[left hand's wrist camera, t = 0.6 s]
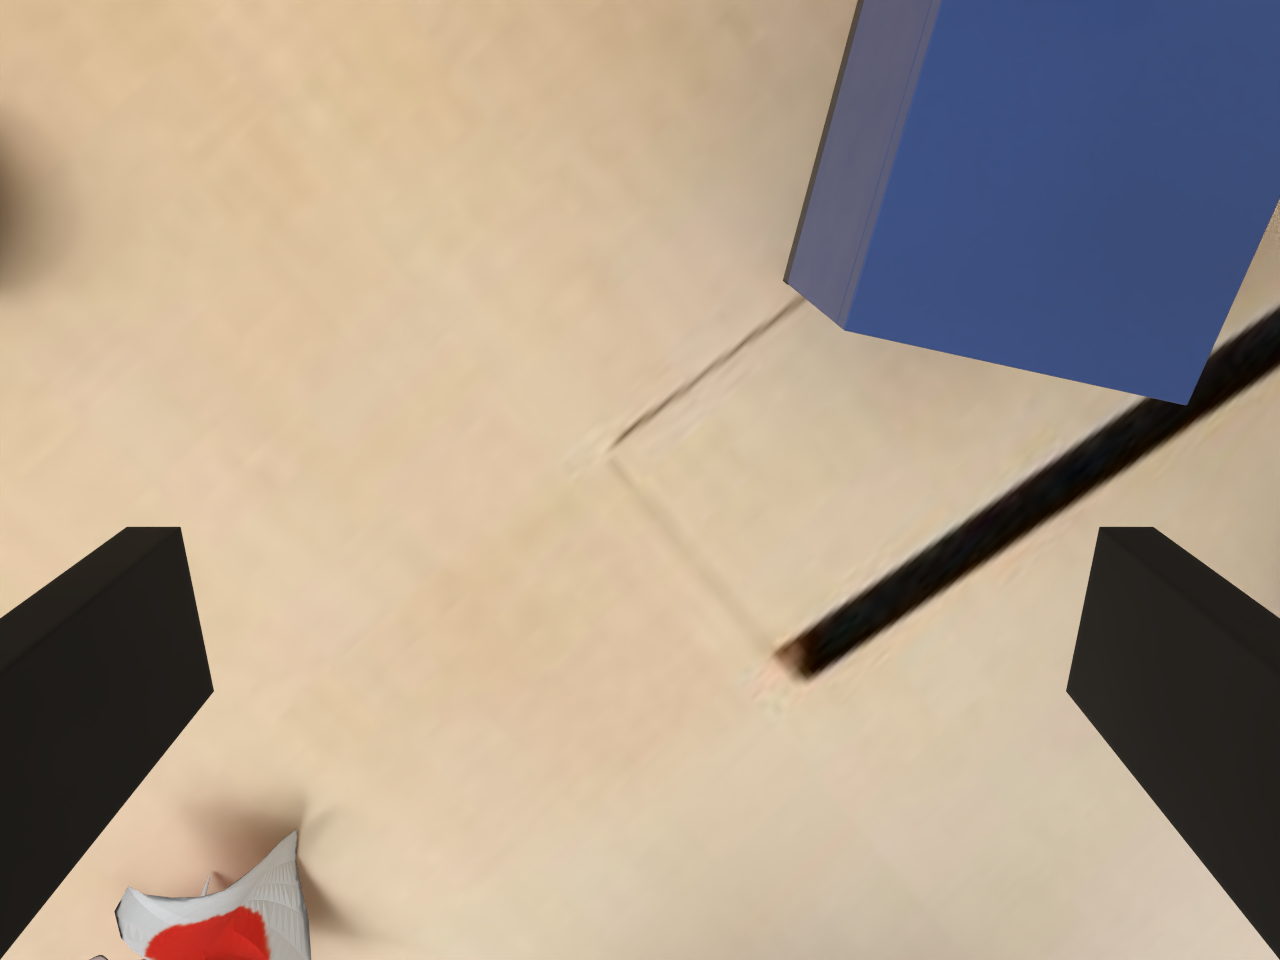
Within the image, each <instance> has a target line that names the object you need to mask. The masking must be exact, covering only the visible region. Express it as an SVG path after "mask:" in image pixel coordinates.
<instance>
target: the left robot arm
mask: <svg viewBox="0 0 1280 960" xmlns="http://www.w3.org/2000/svg"><path fill="white" fill-rule="evenodd" d="M213 692H214V689H213V685H212V680H211V675H210V670H209V665H208V660H207V655H206V650H205V645H204V640H203V635H202V630H201V626H200V621H199V616H198V611H197V606H196V601H195V596H194V591H193V586H192V581H191V576H190V571H189V566H188V562H187V557H186V552H185V547H184V542H183V537H182V532H181V527H126V528H125V529H123V530H122V531H121V532H119V533H118V534H116V535H115V536H114V537H112V538H111V539H110V540H108V541H107V542H105V543H104V544H103V545H101V546H100V547H98V548H97V549H96V550H94V551H93V552H92V553H90V554H89V555H87V556H86V557H85V558H83V559H82V560H80V561H79V562H78V563H76V564H75V565H74V566H72V567H71V568H69V569H68V570H67V571H65V572H64V573H62V574H61V575H60V576H58V577H57V578H56V579H54V580H53V581H51V582H50V583H49V584H47V585H46V586H45V587H43V588H42V589H40V590H39V591H38V592H36V593H35V594H33V595H32V596H31V597H29V598H28V599H27V600H25V601H24V602H22V603H21V604H20V605H18V606H17V607H15V608H14V609H13V610H11V611H10V612H9V613H7V614H6V615H4V616H3V617H2V618H0V959H1V958H2V957H3V955H4V954H5V953H6V952H7V950H8V949H9V948H10V947H11V945H12V944H13V943H14V942H15V940H16V939H17V938H18V937H19V935H20V934H21V933H22V932H23V930H24V929H25V928H26V927H27V925H28V924H29V923H30V922H31V920H32V919H33V918H34V917H35V915H36V914H37V913H38V911H39V910H40V909H41V908H42V906H43V905H44V904H45V903H46V901H47V900H48V899H49V898H50V896H51V895H52V894H53V893H54V891H55V890H56V889H57V888H58V886H59V885H60V884H61V883H62V881H63V880H64V879H65V878H66V876H67V875H68V874H69V873H70V871H71V870H72V869H73V868H74V866H75V865H76V864H77V862H78V861H79V860H80V859H81V857H82V856H83V855H84V854H85V852H86V851H87V850H88V849H89V847H90V846H91V845H92V844H93V842H94V841H95V840H96V839H97V837H98V836H99V835H100V834H101V832H102V831H103V830H104V829H105V827H106V826H107V825H108V824H109V822H110V821H111V820H112V819H113V817H114V816H115V815H116V813H117V812H118V811H119V810H120V808H121V807H122V806H123V805H124V803H125V802H126V801H127V800H128V798H129V797H130V796H131V795H132V793H133V792H134V791H135V790H136V788H137V787H138V786H139V785H140V783H141V782H142V781H143V780H144V778H145V777H146V776H147V775H148V773H149V772H150V771H151V770H152V768H153V767H154V766H155V764H156V763H157V762H158V761H159V759H160V758H161V757H162V756H163V754H164V753H165V752H166V751H167V749H168V748H169V747H170V746H171V744H172V743H173V742H174V741H175V739H176V738H177V737H178V736H179V734H180V733H181V732H182V731H183V729H184V728H185V727H186V726H187V724H188V723H189V722H190V721H191V719H192V718H193V717H194V716H195V714H196V713H197V712H198V710H199V709H200V708H201V707H202V705H203V704H204V703H205V702H206V700H207V699H208V698H209V697H210V695H211V694H212V693H213ZM1066 692H1067V693H1068V694H1069V695H1070V697H1071V698H1072V699H1073V700H1074V702H1075V703H1076V704H1077V705H1078V707H1079V708H1080V709H1081V710H1082V712H1083V713H1084V714H1085V716H1086V717H1087V718H1088V719H1089V721H1090V722H1091V723H1092V724H1093V726H1094V727H1095V728H1096V729H1097V731H1098V732H1099V733H1100V734H1101V736H1102V737H1103V738H1104V739H1105V741H1106V742H1107V743H1108V744H1109V746H1110V747H1111V748H1112V749H1113V751H1114V752H1115V753H1116V754H1117V756H1118V757H1119V758H1120V759H1121V761H1122V762H1123V763H1124V765H1125V766H1126V767H1127V768H1128V770H1129V771H1130V772H1131V773H1132V775H1133V776H1134V777H1135V778H1136V780H1137V781H1138V782H1139V783H1140V785H1141V786H1142V787H1143V788H1144V790H1145V791H1146V792H1147V793H1148V795H1149V796H1150V797H1151V798H1152V800H1153V801H1154V802H1155V803H1156V805H1157V806H1158V807H1159V808H1160V810H1161V811H1162V812H1163V813H1164V815H1165V816H1166V817H1167V819H1168V820H1169V821H1170V822H1171V824H1172V825H1173V826H1174V827H1175V829H1176V830H1177V831H1178V832H1179V834H1180V835H1181V836H1182V837H1183V839H1184V840H1185V841H1186V842H1187V844H1188V845H1189V846H1190V847H1191V849H1192V850H1193V851H1194V852H1195V854H1196V855H1197V856H1198V857H1199V859H1200V860H1201V861H1202V862H1203V864H1204V865H1205V866H1206V868H1207V869H1208V870H1209V871H1210V873H1211V874H1212V875H1213V876H1214V878H1215V879H1216V880H1217V881H1218V883H1219V884H1220V885H1221V886H1222V888H1223V889H1224V890H1225V891H1226V893H1227V894H1228V895H1229V896H1230V898H1231V899H1232V900H1233V901H1234V903H1235V904H1236V905H1237V906H1238V908H1239V909H1240V910H1241V911H1242V913H1243V914H1244V915H1245V917H1246V918H1247V919H1248V920H1249V922H1250V923H1251V924H1252V925H1253V927H1254V928H1255V929H1256V930H1257V932H1258V933H1259V934H1260V935H1261V937H1262V938H1263V939H1264V940H1265V942H1266V943H1267V944H1268V945H1269V947H1270V948H1271V949H1272V950H1273V952H1274V953H1275V954H1276V955H1277V957H1278V958H1279V959H1280V618H1278V617H1277V616H1276V615H1274V614H1273V613H1271V612H1270V611H1269V610H1267V609H1266V608H1265V607H1263V606H1262V605H1260V604H1259V603H1258V602H1256V601H1255V600H1253V599H1252V598H1251V597H1249V596H1248V595H1247V594H1245V593H1244V592H1242V591H1241V590H1240V589H1238V588H1237V587H1235V586H1234V585H1233V584H1231V583H1230V582H1229V581H1227V580H1226V579H1224V578H1223V577H1222V576H1220V575H1219V574H1218V573H1216V572H1215V571H1213V570H1212V569H1211V568H1209V567H1208V566H1206V565H1205V564H1204V563H1202V562H1201V561H1200V560H1198V559H1197V558H1195V557H1194V556H1193V555H1191V554H1190V553H1188V552H1187V551H1186V550H1184V549H1183V548H1182V547H1180V546H1179V545H1177V544H1176V543H1175V542H1173V541H1172V540H1170V539H1169V538H1168V537H1166V536H1165V535H1164V534H1162V533H1161V532H1159V531H1158V530H1157V529H1155V528H1154V527H1099V532H1098V537H1097V542H1096V547H1095V552H1094V557H1093V562H1092V566H1091V571H1090V576H1089V581H1088V586H1087V591H1086V596H1085V601H1084V606H1083V611H1082V616H1081V621H1080V626H1079V630H1078V635H1077V640H1076V645H1075V650H1074V655H1073V660H1072V665H1071V670H1070V675H1069V680H1068V685H1067V689H1066Z"/></svg>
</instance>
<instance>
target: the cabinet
mask: <svg viewBox="0 0 1280 960" xmlns="http://www.w3.org/2000/svg"><path fill="white" fill-rule="evenodd" d="M1279 199H1280V0H858V2H857V6H856V10H855V14H854V17H853V21H852V25H851V28H850V32H849V36H848V40H847V43H846V47H845V51H844V55H843V58H842V62H841V66H840V70H839V73H838V77H837V81H836V84H835V88H834V92H833V96H832V99H831V103H830V107H829V111H828V114H827V118H826V122H825V126H824V129H823V133H822V137H821V141H820V144H819V148H818V152H817V155H816V159H815V163H814V167H813V170H812V174H811V178H810V182H809V185H808V189H807V193H806V197H805V200H804V204H803V208H802V211H801V215H800V219H799V223H798V226H797V230H796V234H795V238H794V241H793V245H792V249H791V253H790V256H789V260H788V264H787V267H786V271H785V275H784V279H783V281H784V282H785V283H786V284H788V285H790V286H791V287H792V288H794V289H795V290H796V291H797V292H798V293H800V294H801V295H802V296H803V297H805V298H806V299H807V300H808V301H809V302H811V303H812V304H813V305H814V306H815V307H817V308H818V309H819V310H820V311H822V312H823V313H824V314H825V315H826V316H828V317H829V318H830V319H831V320H832V321H834V322H835V323H836V324H837V325H839V326H840V327H841V328H842V329H843V330H845V331H849V332H854V333H858V334H863V335H868V336H872V337H877V338H881V339H886V340H890V341H895V342H899V343H904V344H909V345H913V346H918V347H922V348H927V349H931V350H936V351H941V352H945V353H950V354H954V355H959V356H963V357H968V358H973V359H977V360H982V361H986V362H991V363H995V364H1000V365H1005V366H1009V367H1014V368H1018V369H1023V370H1027V371H1032V372H1036V373H1041V374H1046V375H1050V376H1055V377H1059V378H1064V379H1068V380H1073V381H1078V382H1082V383H1087V384H1091V385H1096V386H1100V387H1105V388H1110V389H1114V390H1119V391H1123V392H1128V393H1132V394H1137V395H1142V396H1146V397H1151V398H1155V399H1160V400H1164V401H1169V402H1173V403H1178V404H1183V405H1187V404H1188V402H1189V400H1190V397H1191V395H1192V393H1193V391H1194V388H1195V386H1196V384H1197V382H1198V379H1199V377H1200V375H1201V373H1202V371H1203V368H1204V366H1205V364H1206V362H1207V359H1208V357H1209V355H1210V353H1211V350H1212V348H1213V346H1214V344H1215V342H1216V339H1217V337H1218V335H1219V333H1220V330H1221V328H1222V326H1223V324H1224V321H1225V319H1226V317H1227V315H1228V313H1229V310H1230V308H1231V306H1232V304H1233V301H1234V299H1235V297H1236V295H1237V292H1238V290H1239V288H1240V286H1241V284H1242V281H1243V279H1244V277H1245V275H1246V272H1247V270H1248V268H1249V266H1250V263H1251V261H1252V259H1253V257H1254V255H1255V252H1256V250H1257V248H1258V246H1259V243H1260V241H1261V239H1262V237H1263V234H1264V232H1265V230H1266V228H1267V226H1268V223H1269V221H1270V219H1271V217H1272V214H1273V212H1274V210H1275V208H1276V205H1277V203H1278V201H1279Z"/></svg>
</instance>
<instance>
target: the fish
mask: <svg viewBox="0 0 1280 960" xmlns="http://www.w3.org/2000/svg"><path fill="white" fill-rule="evenodd" d="M296 851H297V830H296V829H295V830H294V831H293V832H292V833H290V834H289V835H288V836H286V837H285V838H284V839H283V840H282V841H281V842H280V843H279V844H278V845H277V846H276V847H275V848H274V849H273V850H272V851H271V852H270V853H269V854H268V855H267V856H266V857H265V858H264V859H263V860H262V861H261V862H260V863H259V864H258V865H257V866H255V867H254V868H253V869H252V870H250V871H249V872H248V873H247V874H245V875H244V876H243V877H242V878H240V879H239V880H238V881H236V882H235V883H234V884H232V885H231V886H230V887H228V888H227V889H226V890H224V891H221V892H217V893H214V894H210V895H206V892H207V888H208V884H209V879H210V876H208V879H207V881H206V884H205V887H204V889H203V892H202V894H201V897H184V898H169V897H161V896H152V895H145V894H143V893H141V892H139V891H137V890H135V889H133V888H131V887H129V886H128V888H127V890H126V892H125V893H124V895H123V897H122V899H121V901H120V902H119V904H118V906H117V908H116V910H115V915H116V919H117V923H118V928H119V932H120V936H121V938H122V939H123V941H124V942H125V943H126V944H127V945H128V946H129V947H130V948H131V950H133V951H134V952H136V953H137V954H139V955H140V956H141V957H143V958H144V959H142V960H311V949H310V936H309V922H308V915H307V911H306V906H305V902H304V897H303V893H302V888H301V883H300V879H299V874H298V869H297V864H296ZM90 960H108V959H107V958H106V957H104V956H103V955H99V956H96V957H94V958H92V959H90Z"/></svg>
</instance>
